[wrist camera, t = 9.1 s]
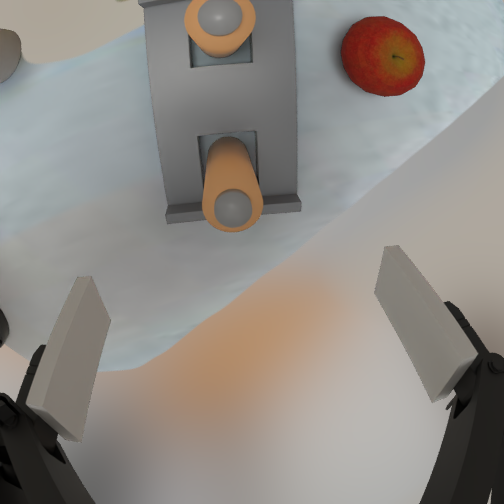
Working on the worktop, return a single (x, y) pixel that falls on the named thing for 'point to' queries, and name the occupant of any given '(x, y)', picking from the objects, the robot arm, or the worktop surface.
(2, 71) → the coffee cup
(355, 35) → the apple
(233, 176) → the peg
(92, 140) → the worktop surface
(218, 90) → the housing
